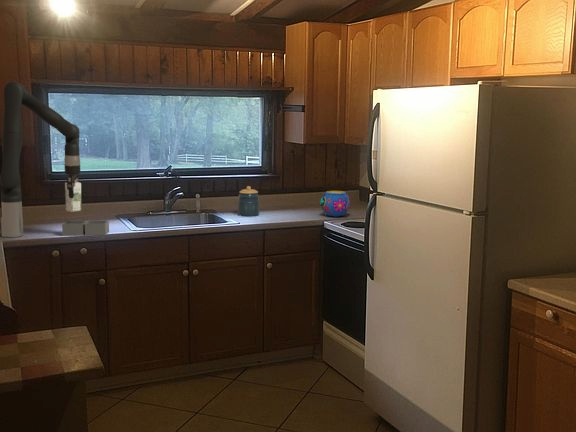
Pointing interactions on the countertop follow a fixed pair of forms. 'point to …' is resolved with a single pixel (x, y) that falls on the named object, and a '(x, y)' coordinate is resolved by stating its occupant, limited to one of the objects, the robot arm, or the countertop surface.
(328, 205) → the ceramic pot
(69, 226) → the bin
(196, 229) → the countertop surface
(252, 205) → the canister
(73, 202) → the syrup box
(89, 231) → the bin
